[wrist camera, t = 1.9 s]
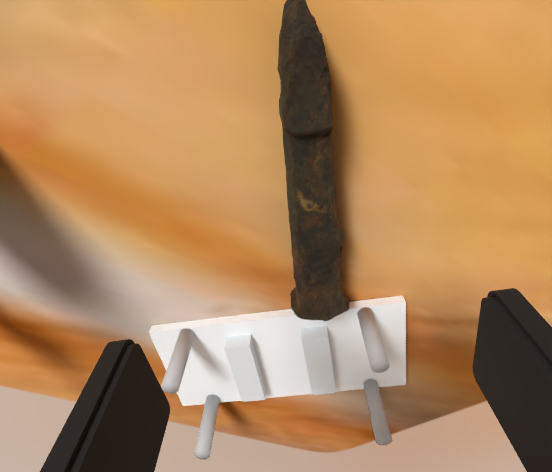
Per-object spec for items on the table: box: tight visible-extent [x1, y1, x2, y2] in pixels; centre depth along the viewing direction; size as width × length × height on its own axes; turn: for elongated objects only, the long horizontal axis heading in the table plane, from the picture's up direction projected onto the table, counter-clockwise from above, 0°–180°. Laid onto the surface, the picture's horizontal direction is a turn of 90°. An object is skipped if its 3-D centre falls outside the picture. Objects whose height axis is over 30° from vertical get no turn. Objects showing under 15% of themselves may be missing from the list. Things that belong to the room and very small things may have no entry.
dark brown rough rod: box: [278, 0, 350, 321], centre depth 21 cm, size 19×4×5 cm, turn 4°
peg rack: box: [149, 296, 406, 459], centre depth 29 cm, size 20×9×6 cm, turn 100°
